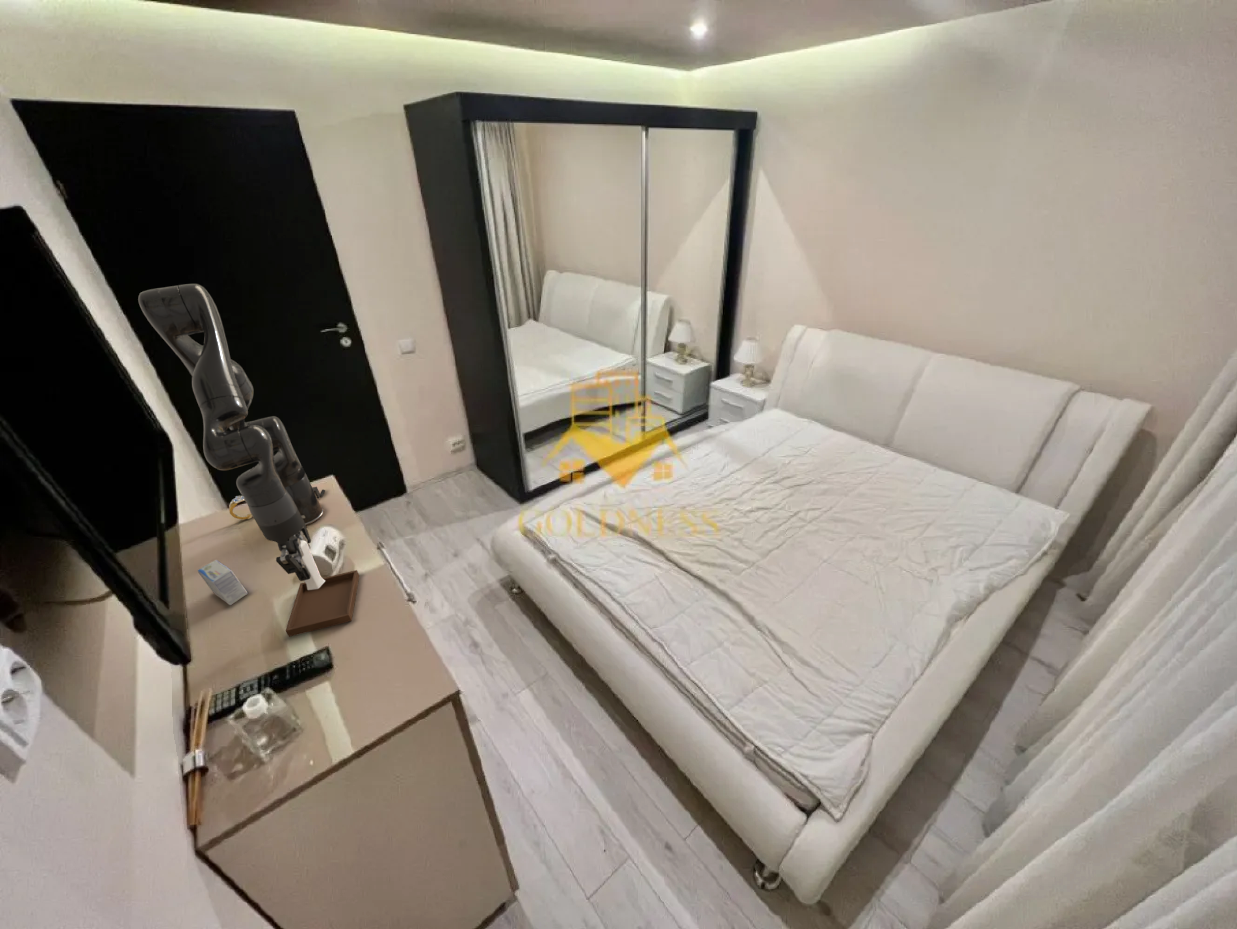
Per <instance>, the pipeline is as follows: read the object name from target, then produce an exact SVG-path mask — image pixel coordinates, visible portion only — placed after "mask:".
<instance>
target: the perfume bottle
mask: <svg viewBox="0 0 1237 929" xmlns="http://www.w3.org/2000/svg"><path fill="white" fill-rule="evenodd" d="M294 536H295V535H294ZM300 541H301V549H302V551H303V554H304V556H303V557H302V559H303V561H304V564H305V566H306V568H307V570H308V571H309V573H310V575H311V577H310V579H308V580H304V581H303V582H305V583H306V584H307V590H313V589H319V588H320V587H321V585H322V584H323V583H324V582H325V580H324V579H323V578H324V577H322V576H321V573H320V571H319V568H318V566H317V563H316V560H315V561H314V559H315V558H314V559H313V557H314V555H313V553H312V552H311V548H310V549H309V546H308V544H309V543H308V544H307V542H306V541H304V540H300ZM311 553H312V554H311ZM292 555H293V556H296V555H298V552H297V553H296V554H292ZM292 555H291V556H292ZM312 555H313V556H312ZM296 561H297V562H298V560H296ZM298 563H299V562H298Z"/></svg>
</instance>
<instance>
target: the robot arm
mask: <svg viewBox="0 0 1237 929" xmlns="http://www.w3.org/2000/svg"><path fill="white" fill-rule="evenodd" d="M137 300H138V304H139V307H140V309H141V311H142V314H143V315H144V317H145V319H147V321H148V322H149V324H150V325H151V327H153V329H154V330H155V331H156V332H157V334H158V335H159V336H160V338H161V339H163V340H164V342H165V343H166V344H167V345H168V346H169V348H170V349H171V350H172V351H173V352H174V353H175V355H176V356H177V357H178V358H179V359H180V361H181V362H182V363H183V365H184V366H185V368H186V369H187V371H188V372H189V374H190V375H191V388H192V392H193V394H194V398H195V399H196V400H195V401H196V402H197V404H198V407H199V411H200V413H201V416H202V423H203V424H202V425H203V435H202V436H203V439H202V448H203V450H202V451H203V455H204V457H205V460H206V461H207V463H208V464H209V465H210V466H212V467H213V468H215V469H217V470H218V471H229V470H233V469H237V468H239V467H243V466H246V465H250V464H254V463H257V464H256V465H255V466H253V467H252V468H250V469H248V470H246V471H244V472H243V473H241V474H240V475H238V477H237V478H236V481H235V484H236V487H237V489H238V491H239V493H240V495H241V496H243V498H244V499H245V501H244V502H245V503H246V504H247V506H248V509H249V512H250V514H252V516H253V517H252V518H253V519H254V521H255V523H256V524H257V526H258V528H259V530H260V531H261V533H262V534H263V536H264V538H265V539H266V540H268V541H270V542H274V543H276V544H277V548H278V550H279V551H280V556H276V558H275V561H276V563H277V564H278V565H279V566H280V567H281V568H282V570H283V571H285V572H286V573H287V574H288V575H291V574H294V573H295V575H296V577H297V579H298V580H299V581H300V582H305V581H304V580H308V579H310V577H311V575H310V573H309V571H308V570H307V568H306V566H305V564H304V561H303V559H302V557H303V556H304V554H303V551H302V549H301V541H300V540H304V541H306V542H307V544H308V546H309V549H310V550H311V546H310V544H311V542H312V539H311V537H310V533H309V531H308V528H307V526H309V525H311V524H313V523H315V522H316V521H318V520H320V518H322V517H323V515H324V514H325V511H324V508H323V507H322V505H321V503H320V501H319V499H320V498H322V497H323V496H324V495H325V493H326V489H321V491H320V490H319V488H318V487H317V486H312V484H311V481H310V480H309V478H308V475H307V474H306V472H305V470H304V468H303V466H302V464H301V462H300V460H299V457H298V455H297V454H296V451H295V449H294V447H293V445H292V443H291V439H290V437H289V434H288V432H287V430H286V427H285V425H284V423H283V422H282V421H281V419H280V418H279V417H277V416H276V415H271V416H265V417H261V418H258V419H254V420H251V421H245V419H246V418H247V417H248V414H249V411H248V410H249V408H250V406H251V404H252V402H253V398H254V386H253V384H252V381H250V378H249V377H248V375H247V374H246V372H245V370H244V369H243V367H242V366H241V365H240V363H237V362H236V361H235V360H233V359H231V355H230V351H229V350H230V349H229V345H228V341H227V337H226V333H225V328H224V325H223V321H222V317H221V314H220V312H219V310H218V307H217V305H216V303H215V301H214V299H213V297H212V295H211V294H210V293H209V292H208V290H207V289H206V288H205V287H204V286H203V285H201V284H199V283H186V284H178V285H172V286H165V287H157V288H151V289H147V290H143V291H142V292H140V293H139V295H138V299H137ZM200 333H203V334H204V340H203V345H202V344H201V343H198V342H197V341H195V340H194V339H193V338H192V337H191V336H190V335H194V334H200ZM228 429H229V430H228ZM275 451H277V452H276V453H274V452H275ZM294 535H295V536H294ZM297 552H298V555H296V556H293V555H292V554H296V553H297ZM311 554H312V556H313V559H314V561H315V562H316V559H315V557H314V555H313V553H312V552H311ZM291 555H292V556H291ZM296 560H298V562H299V563H298V562H297V561H296Z"/></svg>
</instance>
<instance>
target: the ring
mask: <svg viewBox="0 0 1237 929" xmlns="http://www.w3.org/2000/svg"><path fill="white" fill-rule="evenodd" d="M241 502H246V501H245V499H244V498H243V496H242V495H241V494H240V495H236V496H235V498H233V499H231V501H230V503H229V506H228V509H229V514H230V516H232V518H235V519H238V520H251V519H252V518H253V516H252V514H251V513H249V514H246V515H243V516H242V515H238V514H235V512H234V511H233V510H234V509H235V507H236V506H237V505H238V504H239V503H241Z"/></svg>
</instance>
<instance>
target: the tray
mask: <svg viewBox="0 0 1237 929" xmlns="http://www.w3.org/2000/svg"><path fill="white" fill-rule="evenodd" d="M322 578H323V579H324V580H325V582H324V583H323V584H322V585H321V587H320V588H319V589H313V590H307V584H306V583H305V581H303V582H299V587H298V589H297V592H296V595H295V598H294V602H293V606H292V609H291V612H290V615H289V618H288V622H287V624H286V628H285V631H284V632H285V633H286V634H287V636H288V637H289V638H291V637H294V636H298V635H302V634H305V633H306V634H307V633H309V632H313V631H317V630H321V629H325V628H329V627H333V626H338V625H340V624H344V623H349V622H352V620H353V616H354V615H353V614H354V609H355V604H356V598H357V593H358V586H359V581H360V573H359V572H358V570H357V569H355V570H351V571H347V572H342V573H339V574H334V575H330V576H326V577H322Z"/></svg>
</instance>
